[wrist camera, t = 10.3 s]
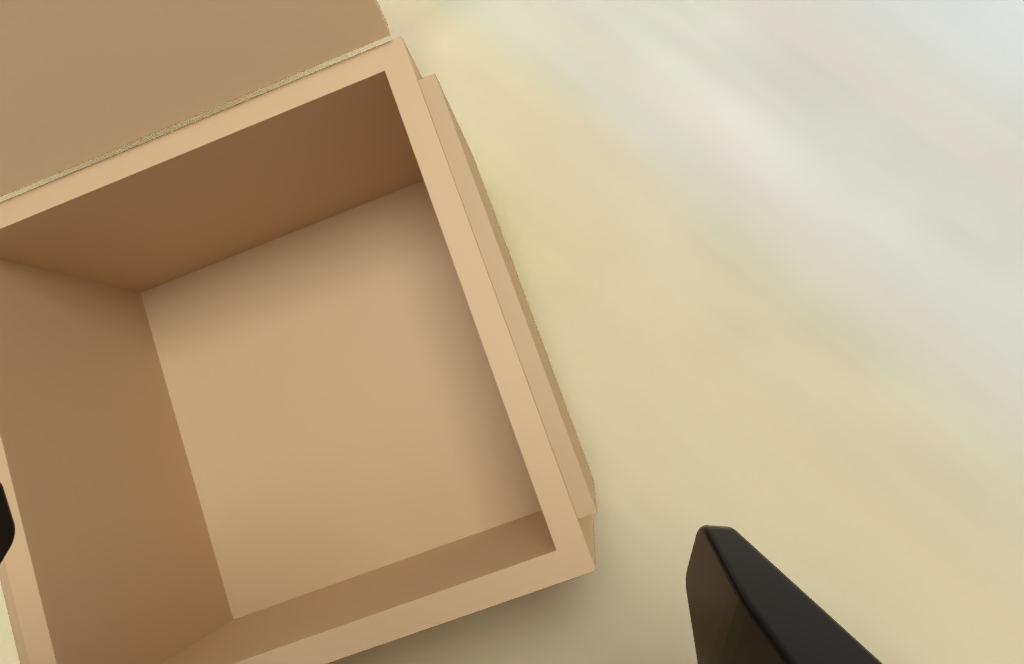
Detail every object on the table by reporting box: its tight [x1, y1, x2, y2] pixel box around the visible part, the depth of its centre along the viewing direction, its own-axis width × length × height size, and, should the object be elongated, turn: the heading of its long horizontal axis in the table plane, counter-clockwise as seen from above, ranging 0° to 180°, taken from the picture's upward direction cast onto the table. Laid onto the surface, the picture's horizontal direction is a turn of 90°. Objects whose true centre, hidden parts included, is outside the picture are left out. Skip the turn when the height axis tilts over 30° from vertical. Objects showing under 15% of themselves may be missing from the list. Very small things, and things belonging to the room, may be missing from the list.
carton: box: [0, 37, 597, 664], centre depth 18 cm, size 12×13×7 cm
